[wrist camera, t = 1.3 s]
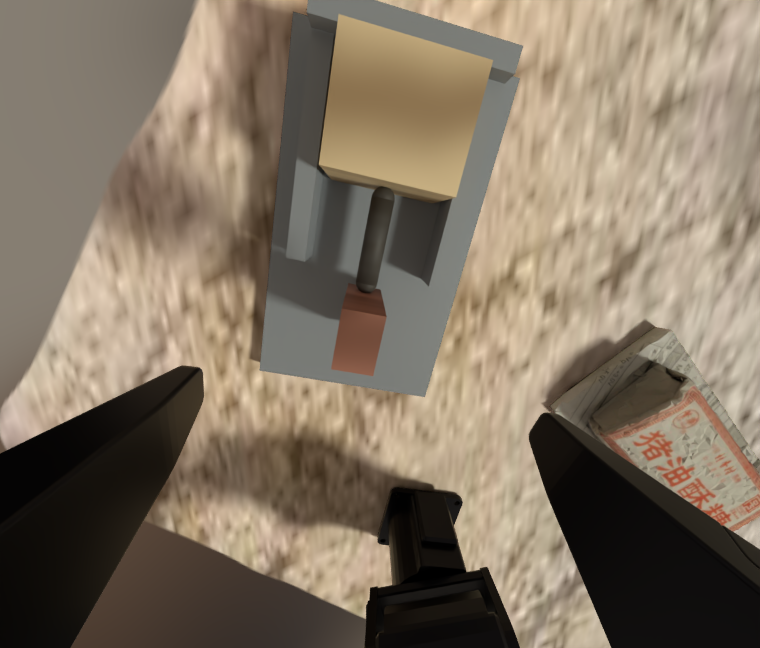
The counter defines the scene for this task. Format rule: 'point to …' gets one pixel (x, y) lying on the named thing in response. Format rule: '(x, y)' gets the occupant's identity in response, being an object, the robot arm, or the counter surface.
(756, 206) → the counter surface
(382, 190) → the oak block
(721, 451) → the packaged product
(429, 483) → the counter surface
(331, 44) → the shelf lane
